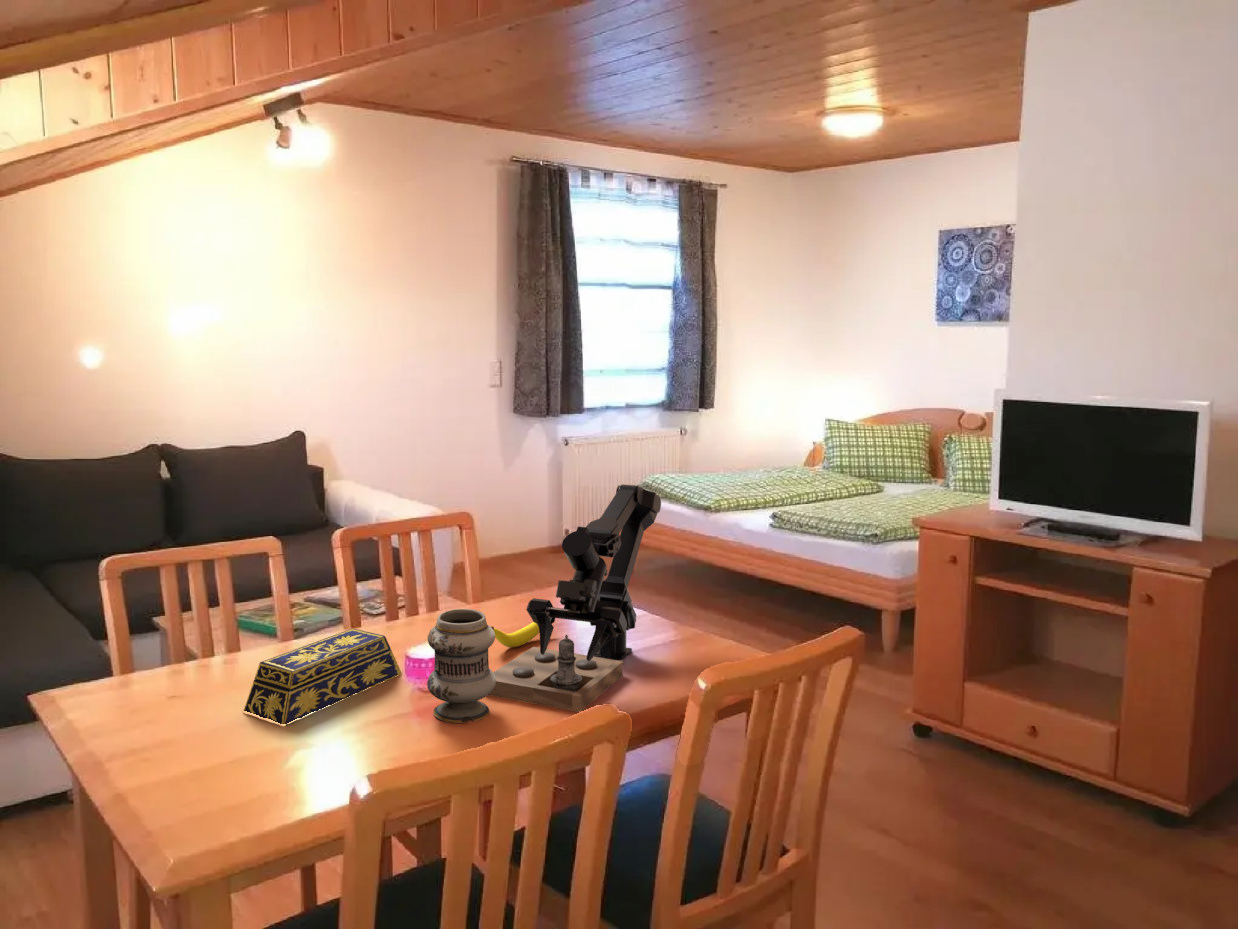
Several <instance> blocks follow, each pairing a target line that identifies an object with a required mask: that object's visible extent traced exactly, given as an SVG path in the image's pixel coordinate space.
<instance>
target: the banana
mask: <svg viewBox="0 0 1238 929" xmlns="http://www.w3.org/2000/svg"><path fill="white" fill-rule="evenodd" d="M490 627H491V628H492V629H493V630H494V633H495V640H497V641H498V642H499V643H500V644H501V645H502V646H504V647H507V648H516V647H520V646H522V645H525V644H527V643H528V642H530V641H532V640H533V639H534V638H535V637H537V636H538V634H540V633H539V627H538V625H537V624H536V623H534V622H533V621H532V622H531V623H530V624H528V625H526V626H525V627H523V628H520V629H518V630H516V631H513V632H511V633H506V632H504V631H502V630H500V629H498V628H495V627H494V626H491V625H490Z"/></svg>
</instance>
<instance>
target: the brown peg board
mask: <svg viewBox="0 0 1238 929" xmlns="http://www.w3.org/2000/svg"><path fill="white" fill-rule="evenodd" d="M558 656H559V650H555V649H551V648H550V649H549V648H547V649H546V651H545V653H544V655H542V654H541V653H540V647H539V646H538V647H537V646H532V647H531V648H528V650H526V651H525V652H523V653H521V654H520V655H518V656H516V657H515V658H513V659H512V660H510V661H508V662H507V663H506V664H504V665H502V666H501V667H500V668H498V669H496V670H495V671H492V672H493V673H494V675H495V678H496V685H495V687H494V689H493V690H492V692H491V693H490V694H489V695H488V696H491V697H496V698H503V699H508V700H512V701H519V702H523V703H529V704H534V705H539V706H545V707H551V708H556V709H560V710H567V711H573V712H578V713H580V712H579V711H581V712H582V711H583V710H584V709H585V708H586V707H588V706H589V705H591V704H592V703H593V702H594V701H596V699H598V698H599V697H600V696H601V695H603V693H604V692H606V691H607V690H608V689H609V688H611V686H613V685H614V684H615V683H616V682H618V680H620V679H621V678H622V677H623V676H624V661H623V660H619V659H613V658H606V657H600V656H594V657H593V658H592V659H591V660H590V661H588V660H587V654H582V653H580V654H579V653H575V652H574V657H576V660H575V661H574V669H575V673H576V674H578V675H580V676H581V677H582V680H581V681H580V685H579V687H578V689H577V690H576V692H573V691H567V690H562V689H556V688H554V687H553V684H552V681H551V679H550V678H551V676H553V675H554V674H557V672H558V660H557V657H558Z"/></svg>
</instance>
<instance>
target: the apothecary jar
mask: <svg viewBox="0 0 1238 929" xmlns="http://www.w3.org/2000/svg"><path fill="white" fill-rule="evenodd" d="M487 622H488V621H487V618H486V615H485V613H484V612H482V611H480V610H478V609H472V608H455V609H449V610H445V611H444V612H443V611H442V612H441V613H440V614H438V616H437V619H436V623H435V625H434V626H433V627H432V628H431V629H430V630H429V633H428V635H427V643H428V645H429V647H430V648H431V649H433V651H434V665H433V666H434V668H433V671H431V673H430V674H429V676H428V677H427V678H428V679H427V682H426V684H427V689H428V691H429V693H430V694H431V695H432V696H434V697H435V698H436V699H438V700H440V701H443V702H442V703H440V704H439V705H437V706H436V707H434V710H433V716H434V717H435V718H436V719H437V720H440V721H442V722H445V723H450V724H464V723H466V722H477V721H481V720H483V719H485V718H486V717H488V715H489V714H490V708H489V706H488V705H487V704H485V702H482V701H481V700H482V699H484V698H486V697H487V696H490V695H489V694H490V693H491V692H492V690H493V689H494V687H495V685H496V678H495V675H494V673H493V672H494V671H493V670H491V669H490V667H489V666H490V665H489V662H490V661H489V648H490V647H492V646H493V644H494V642H495V640H496V638H495V633H494V630H493V629H492V628H491V625H489V624H488V623H487Z"/></svg>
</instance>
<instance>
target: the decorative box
mask: <svg viewBox="0 0 1238 929" xmlns="http://www.w3.org/2000/svg"><path fill="white" fill-rule="evenodd" d="M400 674H401V675H403V673H402V670H401V668H400V666H399V664H398V661H397V660H396V657H395V655H394V652H393V651H392V649H391V646H390V644H389V642H388V640H387V637H386V635H384V634H379V633H375V632H369V631H365V630H361V629H356V628H350V629H347V630H345V631H342V632H339V633H336V634H334V635H331V636H328V637H326V638H325V637H324V638H322V639H320V640H318V641H315V642H312V643H308V644H306V645H304V646H301V647H298V648H295V649H293V650H290V651H287V652H285V653H282V654H279V655H277V656H273V657H271V658H268V659H266V660H262V661H260V662H259V664H258V667H257V670H256V673H255V676H254V680H253V681H252V685H251V688H250V691H249V694H248V696H247V698H246V699H247V700H246V702H245V704H244V708H243V711H247V712H250V713H253V714H256V715H259V716H260V717H263V718H268V719H271V720H273V721H275V722H278V723H280V724H287V723H289V722H291V721H293V720H295V719H297V718H302V717H303V716H305V715H307V714H309V713H311V712H314V711H318V710H319V709H322V708H324V707H326V706H328V705H332V704H334V703H336V702H338V701H340V700H342V699H345V700H347V699H346V698H347V697H349V696H352V695H353V694H355V693H359V692H361V691H363V690H365V689H367V688H369V687H372V688H374V687H376V686H375V685H377V684H379V683H381V682H383V681H386V682H388V681H390V680H392V679H394V678H393V677H395V676H397V675H399V676H401V675H400ZM397 677H398V676H397ZM391 678H392V679H391ZM395 678H396V677H395ZM389 679H390V680H389ZM387 680H388V681H387ZM383 683H384V682H383ZM381 684H382V683H381ZM379 685H380V684H379ZM373 686H374V687H373ZM377 686H378V685H377ZM365 691H366V690H365ZM363 692H364V691H363ZM361 693H362V692H361ZM359 694H360V693H359ZM352 697H353V696H352ZM336 704H337V703H336ZM334 705H335V704H334ZM332 706H333V705H332ZM318 712H319V711H318Z"/></svg>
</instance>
